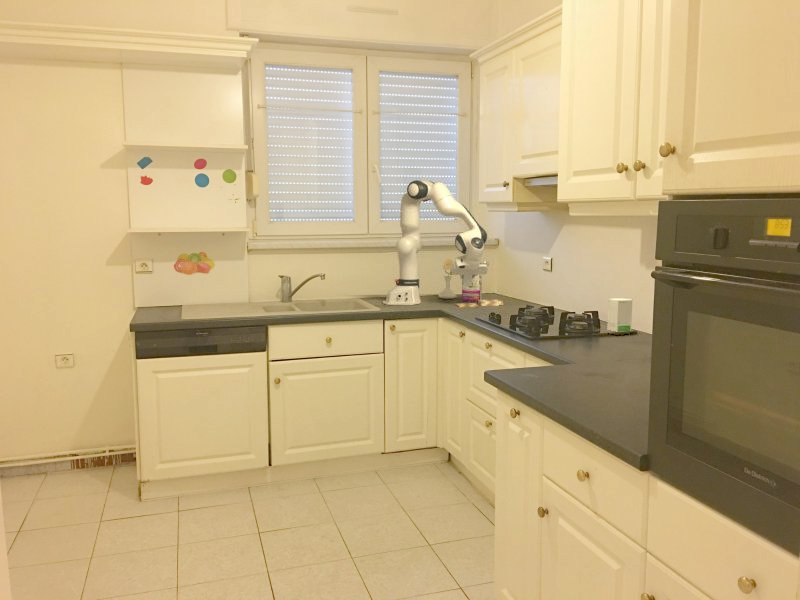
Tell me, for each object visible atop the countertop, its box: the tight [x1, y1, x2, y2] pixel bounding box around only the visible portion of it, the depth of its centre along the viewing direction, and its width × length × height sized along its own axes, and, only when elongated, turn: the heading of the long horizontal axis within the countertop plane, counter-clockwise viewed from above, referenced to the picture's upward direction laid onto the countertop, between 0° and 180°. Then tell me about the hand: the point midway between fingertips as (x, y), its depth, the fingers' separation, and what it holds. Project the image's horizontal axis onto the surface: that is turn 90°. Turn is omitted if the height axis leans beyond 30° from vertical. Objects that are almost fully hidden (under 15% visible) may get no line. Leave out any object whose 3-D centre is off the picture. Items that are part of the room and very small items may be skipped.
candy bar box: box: [461, 274, 483, 302], centre depth 399 cm, size 11×5×16 cm, turn 73°
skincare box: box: [606, 297, 633, 332], centre depth 289 cm, size 8×7×16 cm
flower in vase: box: [438, 258, 458, 300], centre depth 408 cm, size 13×11×25 cm
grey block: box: [461, 275, 472, 287], centre depth 377 cm, size 5×2×8 cm, turn 98°
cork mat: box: [454, 302, 481, 308], centre depth 379 cm, size 12×12×1 cm
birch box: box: [477, 299, 504, 307], centre depth 382 cm, size 13×7×2 cm, turn 98°
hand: (467, 277), depth 378 cm, fingers closed on grey block, 5 cm apart
